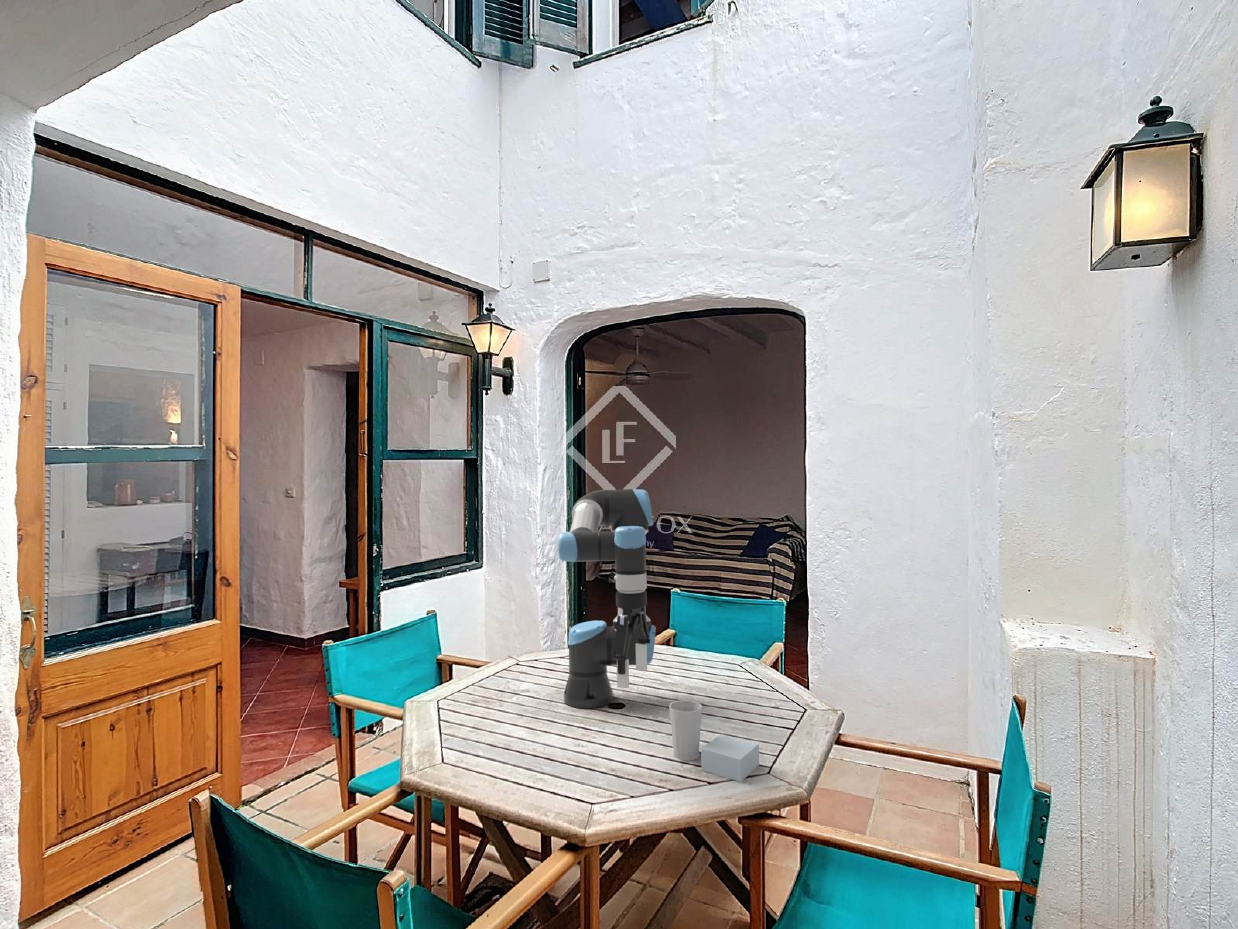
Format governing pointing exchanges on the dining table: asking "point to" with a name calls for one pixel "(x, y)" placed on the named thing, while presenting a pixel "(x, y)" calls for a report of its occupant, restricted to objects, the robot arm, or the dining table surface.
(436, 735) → the dining table surface
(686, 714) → the cup
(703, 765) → the pedestal block
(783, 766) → the dining table surface
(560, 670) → the dining table surface
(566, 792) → the dining table surface
